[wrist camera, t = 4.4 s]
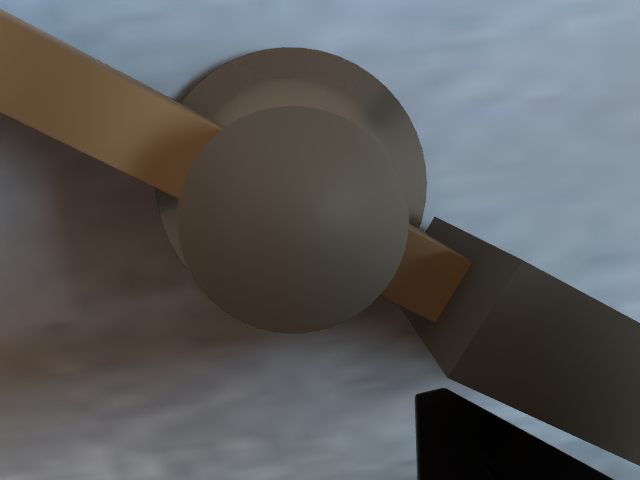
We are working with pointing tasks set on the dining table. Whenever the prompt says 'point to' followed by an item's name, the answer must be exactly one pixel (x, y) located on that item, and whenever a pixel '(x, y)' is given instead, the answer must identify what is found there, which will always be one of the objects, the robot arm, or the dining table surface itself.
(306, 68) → the pivot disc
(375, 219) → the flipper
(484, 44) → the dining table surface
